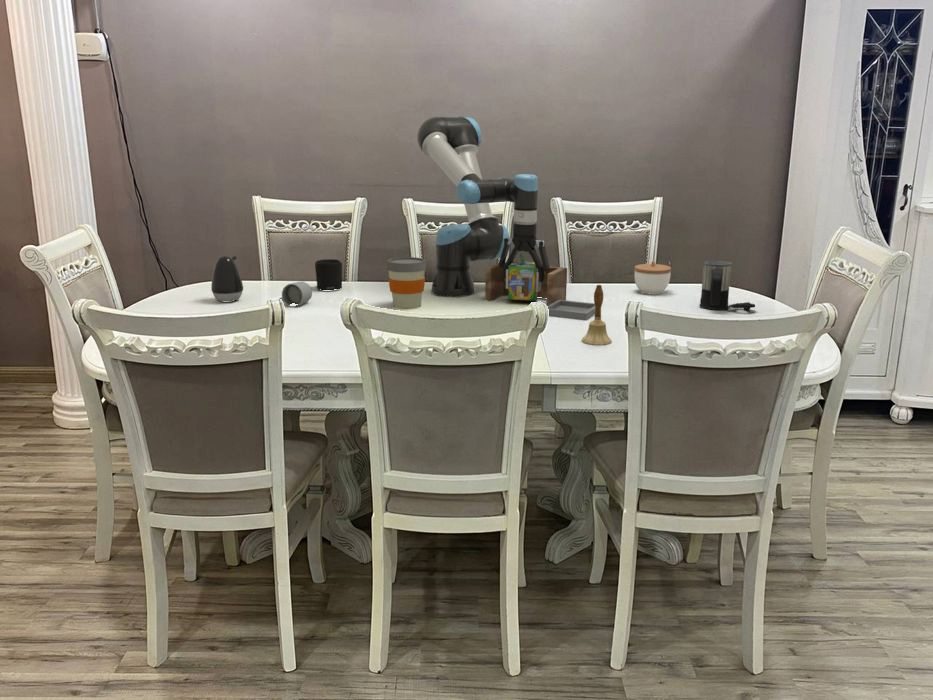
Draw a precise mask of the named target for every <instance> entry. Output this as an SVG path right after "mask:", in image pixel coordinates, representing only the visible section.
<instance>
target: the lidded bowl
mask: <svg viewBox="0 0 933 700" xmlns="http://www.w3.org/2000/svg"><path fill="white" fill-rule="evenodd" d="M633 268H634V269H633V270H634V276H633V277H634V283H635V285H636V288H637V289H638V290H639V291H640V293H641V292H643V293H642V294H644V293H650V294H649V295H651V294H655V295H661V294H662V292H663V291H665V290H666V289H667V287H668V286H669V283H670V280H671V272H672V267H671V266H669V265H665V264H657V263H656V262H655V261H654V260H652V261H651V263H640V264H636V265H634V267H633ZM660 293H661V294H660Z"/></svg>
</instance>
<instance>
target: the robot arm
mask: <svg viewBox="0 0 933 700" xmlns="http://www.w3.org/2000/svg"><path fill="white" fill-rule="evenodd" d="M481 137H482V132H481V128H480V125H479V123H478V122H477V121H476V120H475V119H473V118H471V117H466V116H434V117H430V118H428V119H426V120H425V121H423V122H422V124H421V125H420V127H419V128H418V132H417V138H416V140H417V144H418V146H419V149H420V150H421V152H422V153H423V154H424V155H425V156H427V157H428V158H432V160H433V161H434V162H435V163H436V164H437V166H438V167H439V168H440V170H442V171H443V172H444V173H445V175H446V176H447V177H448V178H449V179H450V180H451V181H452V183H453V184H454V185H455V186H456V196H457V197H458V198H457V199H458V201H459V203H461V204H463V205H464V209H465V212H466V217H467V219H468V222H467V223H454V224H449V225H444V226H442V227H440V228H438V229H437V231H436V236H435V237H436V238H435V244H436V247H435V248H436V249H435V250H436V253H435V254H436V258H435V259H436V270H435V271H436V272H435V275H434V278H433V281H432V284H431V294H433V295H435V294H436V295H435V296H439V295H441V297H449V296H458V297H467V296H470V295H471V296H472V295H473V294H475V293H476V290H475V289H476V286H475V282H474V279H473V276H472V273H471V262H475V261H488V260H495V259H499V261H498V263H499V264H498V263H497V264H498V265H499V266H501V267H503V268H504V278H506V289H508V266H509V265H510V264H511V263H512V262H514V259H515V258H516V256H517V255H518V253H519V252H525V253H528V254H529V255H530V257H531V259H532V262H534V263H535V265H536V267H537V269H538V272H536V292H539V291H541V282H543V280H544V271H547V270H549V269H550V267H551V266H550V264H549V259H548V258H549V257H548V254H547V252H546V251H547V250H546V240H544V239H543V240H538V238H537V226H538V225H537V222H538V219H537V218H538V197H539V196H538V191H539V184H538V183H539V182H538V181H539V179H538V176H537V175H536V174H529V173H526V174H525V173H520V174H516V175H515V176H514V178H509V177H499V178H491V179H490V178H489V179H487V178H486V179H483V177H482V173H481V169H480V166H479V163H478V158H477V154H478V152H479V147H480V146H481V142H482V139H481ZM504 202H505V203H508V202H509V203H513V221H514V223H513V226H512V227H513V229H512V230H513V232H512V233H513V235H512V237H510V233H509V230H508V228H507V227H506V226H505V225H503V224H499V219H498V217H497V216H495V215H493V212H492V210H491V209H492V208H491V206H490V203H504ZM512 243H513V245H514V247H513V249H512V250H511V253H510V255H508V254H509V250H510V248H511V245H512ZM535 246H537V247H538V251H539V255H538V253H537V250H536V247H535ZM507 256H508V258H507ZM539 256H540V257H539ZM549 266H550V267H549Z"/></svg>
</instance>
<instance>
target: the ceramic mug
mask: <svg viewBox="0 0 933 700" xmlns="http://www.w3.org/2000/svg"><path fill="white" fill-rule="evenodd" d="M312 296H313V290H312V287H311V286H310V285H309V283H307V282H305V281H297V282H292V283H288V284H286V285H285V286H284V287H283V289H282V291H281V297H279V299H282V301H283V302H284V304H285V305H286V306H288V305H290V304H292V303H295V304H298V305H296V306H297V307H299V306H302V305H304V304H305V303H308V302H309V301H310V300H311V299H312ZM303 303H304V304H303Z"/></svg>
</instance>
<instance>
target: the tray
mask: <svg viewBox="0 0 933 700" xmlns="http://www.w3.org/2000/svg"><path fill="white" fill-rule="evenodd" d="M548 309H549V316H548V317H553V318H555V317H556V318H563V319H571V320H583V321H588V320H589V319H591V318H592V317H593V315H594V316H595V303H594V302H584V301H575V300H568V299H566V300H557V301H555V302H554V303H552V304H550V305H548ZM550 315H551V316H550ZM590 317H591V318H590Z"/></svg>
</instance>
